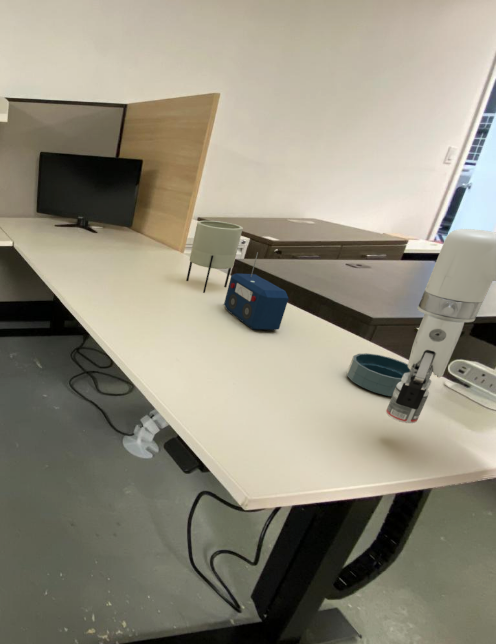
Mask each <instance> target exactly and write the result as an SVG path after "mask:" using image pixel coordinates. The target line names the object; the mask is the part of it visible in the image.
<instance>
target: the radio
mask: <svg viewBox="0 0 496 644" xmlns="http://www.w3.org/2000/svg"><path fill="white" fill-rule="evenodd" d="M255 255H256V256H255V259H254V262H253V266H252V271H251V273H233V274H232V275H230V278H229V282H228V285H227V286H228V287H227V291H226V293H225V294H226V295H225V299H224V303H223V305H224V307H225V310H226V311H227V312H229V313H230V314H231V315H233V316H234V317H235V318H236V319H238V320H239V321H240V322H242V323H243V324H245V326H247V327H248V328H249V329H251V330H252V331H276V330H280V327H281V325H282V321H283V318H284V314H285V311H286V308H287V305H288V302H289V296H288V293H287V292H286V290H284V289H283V288H281V287H279V286H277V285H275V284H274V283H272V282H271V281H269V280H266V279H265V278H262V276H260V275H258V274H256V273H254V270H255V265H256V262H257V258H258V255H259V252H258V251H257V252H256V254H255Z"/></svg>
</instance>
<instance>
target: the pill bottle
mask: <svg viewBox="0 0 496 644" xmlns="http://www.w3.org/2000/svg"><path fill="white" fill-rule="evenodd" d="M409 374H410V373H404V375H403V377H402V379H401V382H399V383H398V384H397V385H396V388H395V390H394V392H393V395H392V396H391V398H390V400H389V403H388V405H387V408H386V410H385V413H386V415H387V416H388V417H389V418H391V419H392V420H395V421H397V422H399V423H404V424H411V425H412V424H415V423H417V422H418V419H419V418H420V415H421V413H422V410H423V409H424V406H425V404H426V402H427V400H428V397H429V394H430V391H429V390H428V389H429V388H430V386H431V384H432V380H431V379H429V381H428V383H427V386H426V388H425V389H426V392H425V394H424V396H423V398H422V401H421V403H420V405H419V407H418V409H412V408H409V407H406V406H402V405H399V404H397V403H396V400H397V398H398V395H399V393H400V390H401V388H402V386H403V383H406V381H407V378H408V376H409ZM414 375H415V376H416V373H414V374H413V376H414ZM410 382H411V381H410Z"/></svg>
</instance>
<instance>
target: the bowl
mask: <svg viewBox="0 0 496 644" xmlns="http://www.w3.org/2000/svg"><path fill="white" fill-rule="evenodd" d="M409 371H410V369H409V368H408V363H406V362H404V361H402V360H398V359H396V358H394V357H393V358H392V357H390V356H384V355H381V354H376V353H367V352H365V353H357V354H355V355H353V356H352V358H351V360H350V364H349V366H348V368H347V371H346V377H347V378H349V380H350V382H353V383H354V384H356V385H358V386H359V387H361V388H363V389H365V390H367V391H370V392H372V393H375V394H378V395H382V396H386V397H392V395H393V392H394V390H395V388H396V385H397V384H398V383H399V382H401V379H402V377H403V375H404V373H409Z"/></svg>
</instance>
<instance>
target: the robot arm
mask: <svg viewBox="0 0 496 644" xmlns="http://www.w3.org/2000/svg"><path fill="white" fill-rule="evenodd" d="M494 281H495V282H496V232H494V231H489V230H483V229H475V228H459V229H454V230H451V232H449V233H448V234H447V236H446V237H445V239H444V241H443V244H442V247H441V249H440V251H439V253H438V256H437V259H436V261H435V263H434V266H433V268H432V271H431V273H430V276H429V279H428V281H427V283H426V287H425V288H424V291H423V293H422V296H421V298H420V301H419V304H418V305H417V310H418V312H420V313H422V314H423V316H422V319H421V322H420V325H419V328H418V329H417V332H416V335H415V338H414V340H413V344H412V346H411V349H410V350H411V352H410V355H409V358H408V363H407V364H408V368H409V369H410V371H409V373H410V374H409V376H408V378H407V381H406V383H403V386H402V388H401V390H400V393H399V395H398V398H397V400H396V403H397V404H399V405H402V406H406V407H409V408H412V409H418V407H419V405H420V403H421V401H422V398H423V396H424V394H425V392H426V389H425V388H426V386H427V383H428V381H429V379H430V378H431V376H432V374H433V375H434V376H436V377H437V378H442V377H443V376H444V374H445V372H446V369H447V366H448V364H449V363H450V360H451V357H452V355H453V353H454V350H455V349H456V346H457V343H458V342H459V339H460V336H461V334H462V331H463V328H464V325H465V323H472V322H474V321H475V320H476V318H477V316H478V314H479V312H480V310H481V308H482V305H483V303H484V301H485V299H486V296H487V294H488V292H489V291H490V288H491V285H492V283H493V282H494ZM414 373H416V376H415V375H414V376H413V374H414ZM430 380H431V379H430ZM410 381H411V382H410Z"/></svg>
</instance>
